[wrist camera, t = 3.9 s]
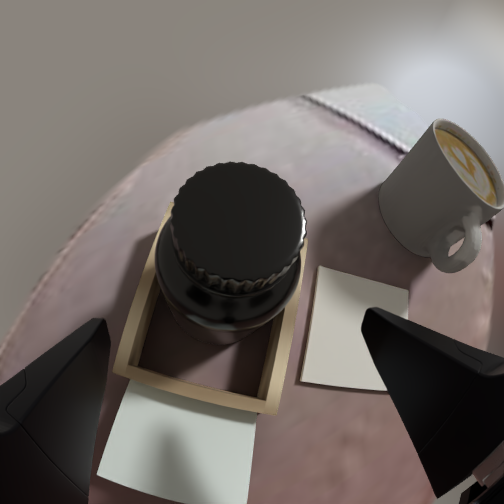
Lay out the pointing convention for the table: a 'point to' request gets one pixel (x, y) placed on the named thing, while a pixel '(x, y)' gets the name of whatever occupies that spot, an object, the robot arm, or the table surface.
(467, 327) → the table surface
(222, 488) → the frame lid
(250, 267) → the supplement bottle
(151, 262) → the frame
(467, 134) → the coffee mug
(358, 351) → the felt mat
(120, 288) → the table surface
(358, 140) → the table surface
